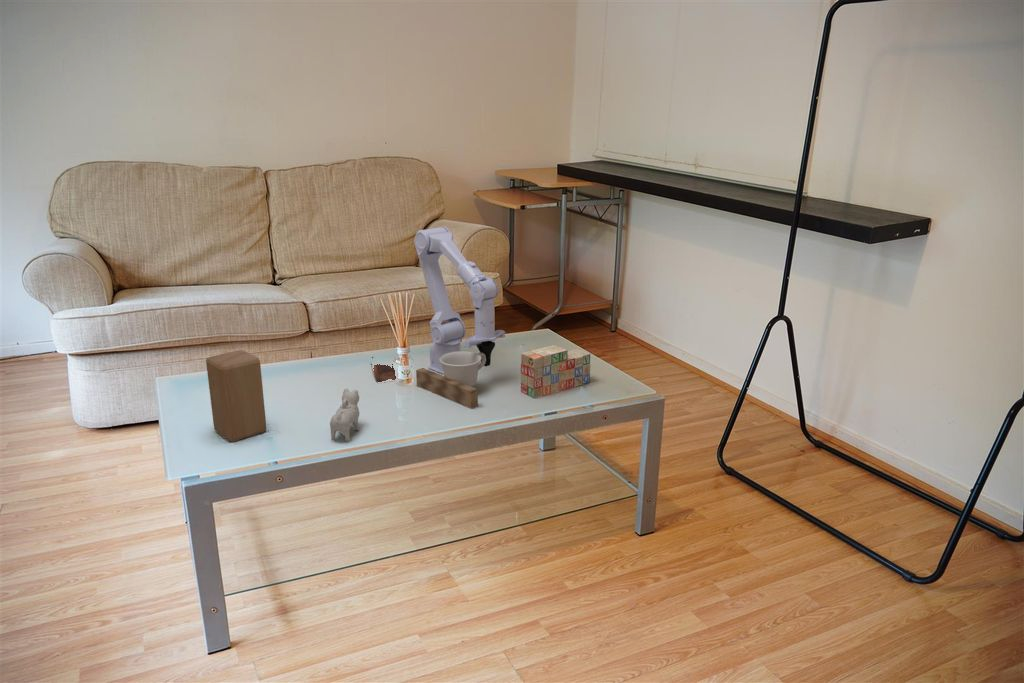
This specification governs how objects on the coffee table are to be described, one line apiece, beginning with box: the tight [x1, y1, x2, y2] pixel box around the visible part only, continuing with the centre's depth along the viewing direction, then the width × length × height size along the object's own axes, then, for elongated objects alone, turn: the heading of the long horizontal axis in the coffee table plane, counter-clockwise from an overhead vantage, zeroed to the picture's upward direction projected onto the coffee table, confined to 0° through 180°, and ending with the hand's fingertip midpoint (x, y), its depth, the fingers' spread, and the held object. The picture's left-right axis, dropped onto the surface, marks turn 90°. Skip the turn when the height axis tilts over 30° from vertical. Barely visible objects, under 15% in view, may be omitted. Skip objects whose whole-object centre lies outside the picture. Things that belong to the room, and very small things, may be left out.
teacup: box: [439, 350, 486, 387], centre depth 224 cm, size 12×15×10 cm
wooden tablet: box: [372, 364, 396, 383], centre depth 244 cm, size 26×2×10 cm
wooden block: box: [205, 349, 267, 442], centre depth 194 cm, size 10×10×20 cm
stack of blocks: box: [520, 344, 591, 399], centre depth 226 cm, size 21×6×12 cm, turn 127°
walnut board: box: [415, 367, 479, 410], centre depth 220 cm, size 24×2×5 cm, turn 45°
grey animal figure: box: [329, 388, 361, 443], centre depth 195 cm, size 5×13×11 cm, turn 171°
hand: (485, 365), depth 229 cm, fingers closed, pressing on teacup
